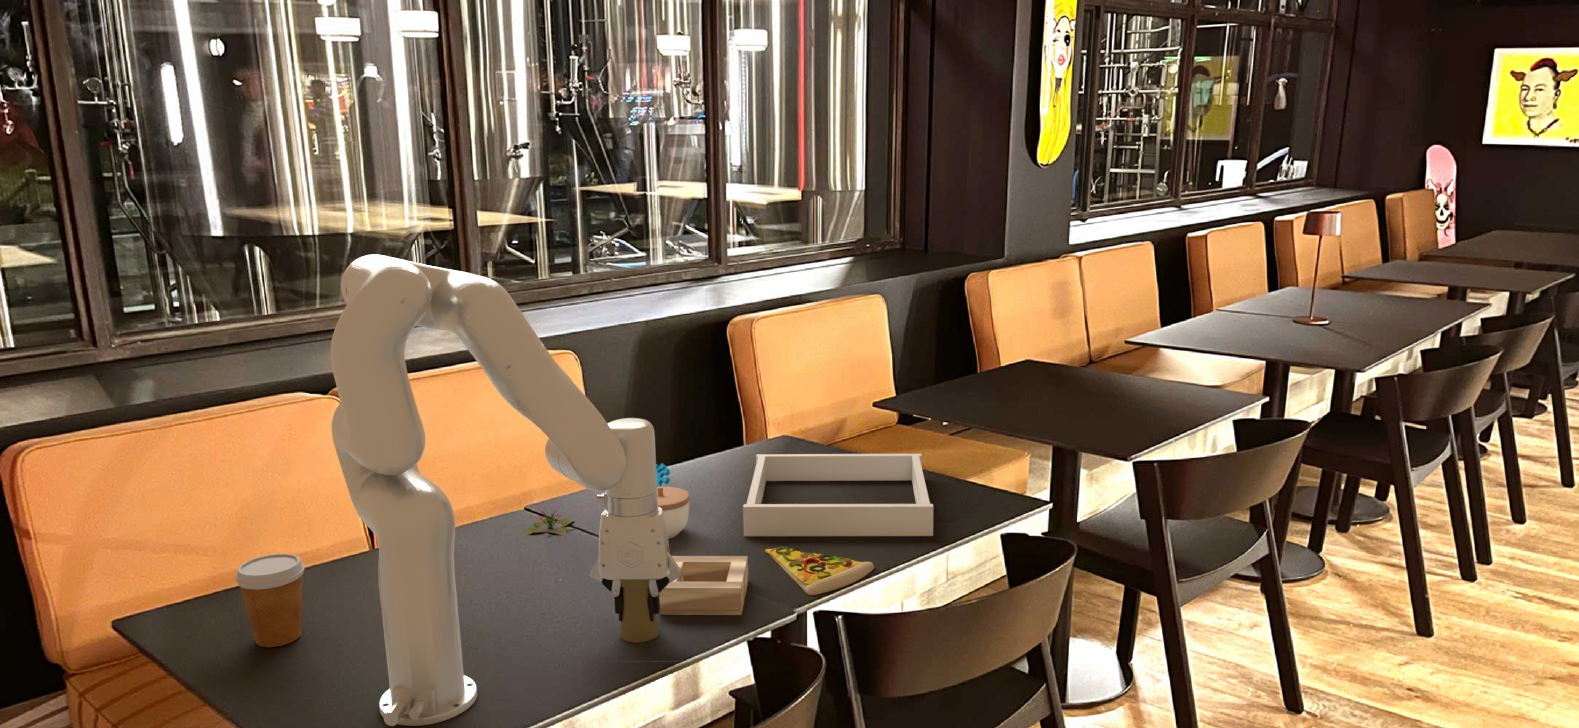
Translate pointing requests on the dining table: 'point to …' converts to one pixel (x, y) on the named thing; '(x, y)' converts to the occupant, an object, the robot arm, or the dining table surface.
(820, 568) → the pizza slice
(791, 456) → the white rectangular frame
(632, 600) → the cork
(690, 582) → the caddy
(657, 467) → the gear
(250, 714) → the dining table surface
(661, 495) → the lidded jar
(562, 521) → the lily flower
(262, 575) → the disposable coffee cup
